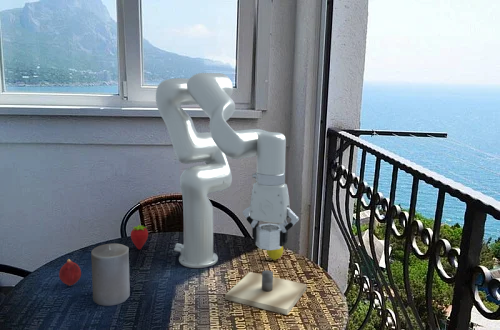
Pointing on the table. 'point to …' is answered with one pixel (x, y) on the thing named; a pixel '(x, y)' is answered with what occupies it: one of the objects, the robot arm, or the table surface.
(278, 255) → the lemon
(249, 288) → the post board
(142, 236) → the strawberry
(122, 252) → the pillar candle
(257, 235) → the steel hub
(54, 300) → the table surface
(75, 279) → the onion
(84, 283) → the table surface
